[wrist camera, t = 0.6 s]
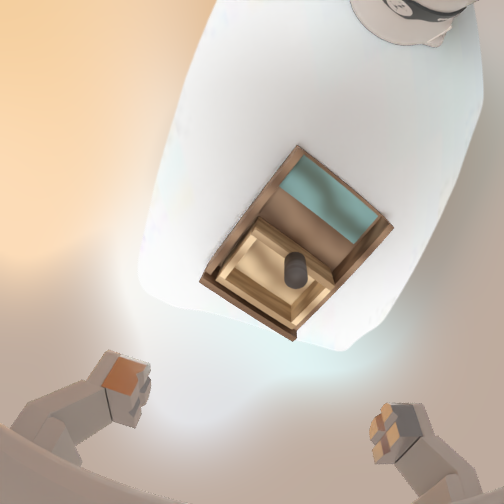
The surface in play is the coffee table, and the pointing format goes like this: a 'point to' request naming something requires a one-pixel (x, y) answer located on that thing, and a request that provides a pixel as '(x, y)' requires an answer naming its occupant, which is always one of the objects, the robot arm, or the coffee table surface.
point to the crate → (275, 274)
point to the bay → (307, 227)
